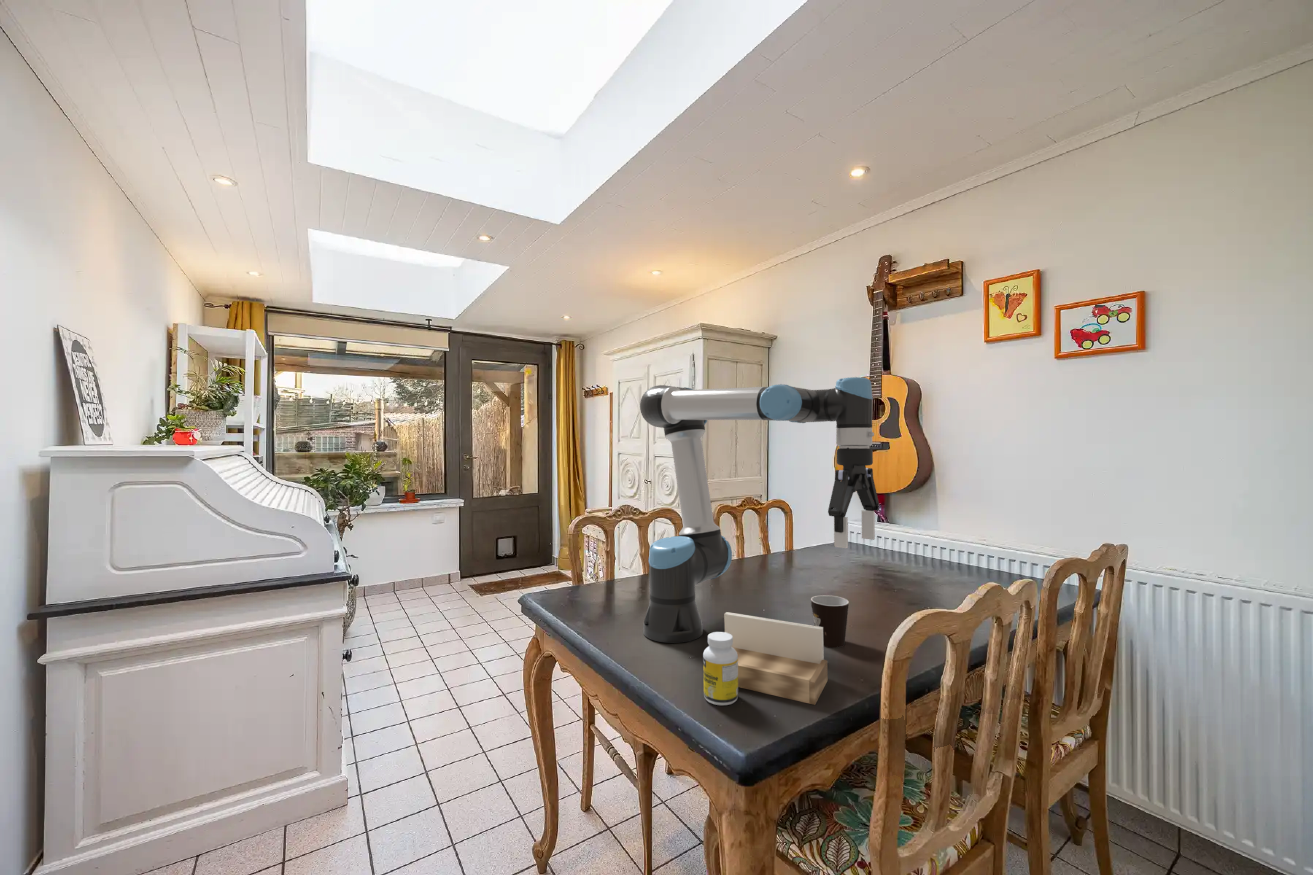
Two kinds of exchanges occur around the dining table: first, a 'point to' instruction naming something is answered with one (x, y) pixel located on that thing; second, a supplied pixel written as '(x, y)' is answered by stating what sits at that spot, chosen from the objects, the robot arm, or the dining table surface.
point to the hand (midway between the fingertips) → (855, 543)
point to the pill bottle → (720, 669)
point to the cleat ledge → (781, 676)
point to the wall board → (776, 637)
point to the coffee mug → (831, 618)
